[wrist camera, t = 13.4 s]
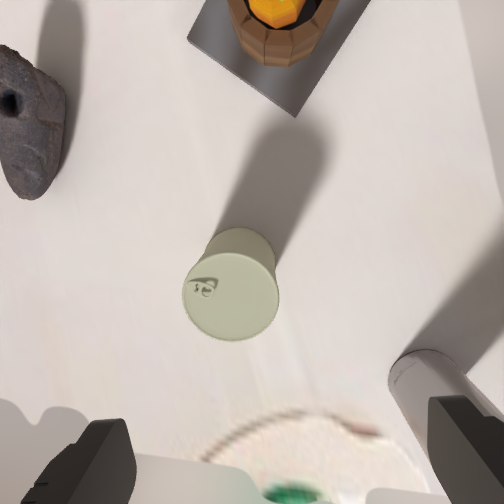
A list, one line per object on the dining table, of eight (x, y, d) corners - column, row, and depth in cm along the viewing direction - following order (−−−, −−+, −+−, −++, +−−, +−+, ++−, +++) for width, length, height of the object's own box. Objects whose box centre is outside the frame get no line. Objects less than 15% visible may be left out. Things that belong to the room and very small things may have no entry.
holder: (373, -5, 33) (403, -51, 26) (295, 117, 36) (302, 106, 29) (260, -95, 31) (260, -170, 24) (189, 42, 35) (170, 10, 28)
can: (215, 217, 39) (196, 238, 28) (285, 241, 40) (295, 272, 28) (194, 283, 42) (168, 328, 30) (261, 305, 42) (260, 358, 31)
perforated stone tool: (66, 203, 40) (26, 210, 33) (24, 192, 39) (-25, 197, 33) (79, 73, 36) (37, 51, 29) (33, 60, 36) (-20, 35, 29)
